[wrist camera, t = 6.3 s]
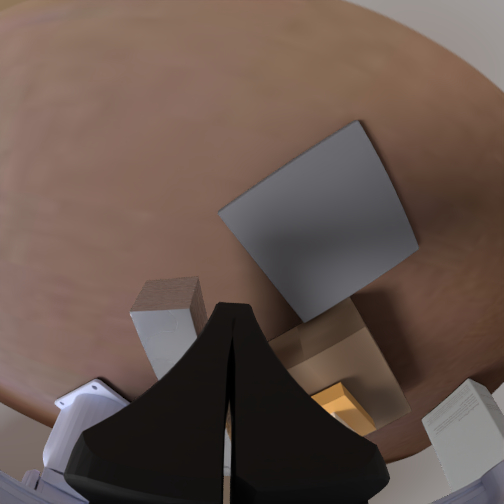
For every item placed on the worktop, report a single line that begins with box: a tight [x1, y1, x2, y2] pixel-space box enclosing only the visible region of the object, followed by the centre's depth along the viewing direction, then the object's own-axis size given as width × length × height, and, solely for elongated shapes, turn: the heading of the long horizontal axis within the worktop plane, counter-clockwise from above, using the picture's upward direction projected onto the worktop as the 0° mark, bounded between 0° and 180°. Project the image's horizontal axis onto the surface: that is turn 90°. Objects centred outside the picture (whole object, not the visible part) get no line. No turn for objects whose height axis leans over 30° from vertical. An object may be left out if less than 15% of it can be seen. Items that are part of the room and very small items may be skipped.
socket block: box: [229, 297, 412, 437], centre depth 18 cm, size 12×12×3 cm
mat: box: [218, 120, 419, 323], centre depth 14 cm, size 8×8×1 cm
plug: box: [311, 382, 376, 436], centre depth 16 cm, size 6×6×8 cm
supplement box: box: [422, 378, 504, 493], centre depth 18 cm, size 7×7×13 cm
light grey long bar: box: [130, 276, 231, 476], centre depth 13 cm, size 13×2×3 cm, turn 6°
